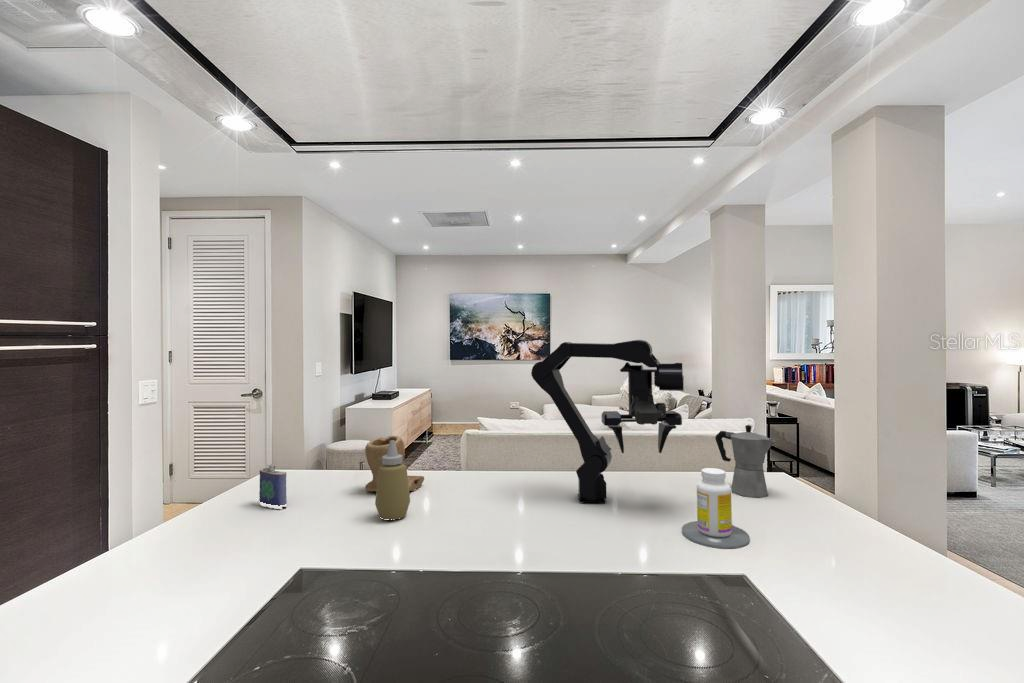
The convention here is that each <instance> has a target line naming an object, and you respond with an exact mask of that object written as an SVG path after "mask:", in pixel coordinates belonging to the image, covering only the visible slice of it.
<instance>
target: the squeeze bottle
mask: <svg viewBox="0 0 1024 683" xmlns="http://www.w3.org/2000/svg"><path fill="white" fill-rule="evenodd" d="M382 464H383V465H381V466H380V467H379V468H378V478H377V489H376V492H375V503H374V505H375V508H376V510H377V513H378V516H379V518H380V517H381V518H383V519H389V520H391V519H392V520H393V519H399V518H402V517H404V516H405V515H406V516H407V512H408V510H409V506H410V502H411V497H410V495H411V494H410V491H409V485H408V476H409V475H408V471H407V469H408V467H407V465H406V464H405V463H402V455H400V454H398V452H397V448H396V444H395V440H390V442H389V447H388V452H387V455H384V456H383V457H382ZM406 516H405V517H406ZM405 517H404V518H405ZM381 518H380V519H381ZM402 519H403V518H402ZM399 520H400V519H399Z"/></svg>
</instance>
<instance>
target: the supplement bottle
mask: <svg viewBox="0 0 1024 683" xmlns="http://www.w3.org/2000/svg"><path fill="white" fill-rule="evenodd" d="M700 476H701V478H702V480H700V481H698V483H697V485H696V516H697V518H696V521H697V524H698V529H699V531H700V532H701V533H703V534H705V535H708V536H713V537H727V536H729V535H730V534H731V533H732V525H733V520H732V519H733V518H732V515H733V512H732V489H731V486H730V485H729V483H727V482H725V481H726V480H725V479H726V477H727V473H726V471H725V470H723V469H722V468H721V469H720V468H716V467H715V468H714V467H705V468H702V469H701V475H700Z"/></svg>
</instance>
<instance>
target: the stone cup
mask: <svg viewBox="0 0 1024 683" xmlns="http://www.w3.org/2000/svg"><path fill="white" fill-rule="evenodd" d="M390 440H395V444H396V448H397V452H398V454H400V455H402V463H403V464H405V463H404V462H405V456H406V452H405V451H406V449H405V443H404V441H403V439H402V437H400V436H398V435H388V436H387V437H376V438H375V439H372V440H370V441H369V442H367V443H366V445H365V449H364V450H365V457H366V460H367V465H368V466H369V469H370V471H371V474H372V480H371V481H369V482H368V483H367V484H365V487H364V488H365V490H366V491H367V492H374V491H375V492H374V493H376V489H377V478H378V468H379V467H380V466H381V465H383V464H382V457H383V456H384V455H387V452H388V447H389V442H390ZM407 476H408V485H409V492H412V491H413V490H414V489H416V488H417V489H419V487H421V486H422V484H423V482H424V481H425V476H423V475H407ZM417 489H416V490H417ZM414 491H415V490H414Z"/></svg>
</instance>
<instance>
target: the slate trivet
mask: <svg viewBox="0 0 1024 683" xmlns="http://www.w3.org/2000/svg"><path fill="white" fill-rule="evenodd" d="M681 534H682V535H683V536H684V537H685V538H686V539H688V540H689V541H691V542H693V543H695V544H697V545H701V546H705V547H710V548H714V549H715V548H716V549H725V550H727V549H729V550H730V549H739V548H740V549H741V548H743V547H746V546H748V544H750V539H751V538H750V535H749V533H748V532H746V530H743V529H742V528H740V527H738V526H735V525H733V524H732V533H731V534H730V535H729V536H727V537H713V536H708V535H705V534H703V533H701V532H700V531H699V529H698V524H697V520H696V521H689V522H687V523H685V524H683V525H682V527H681Z"/></svg>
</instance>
